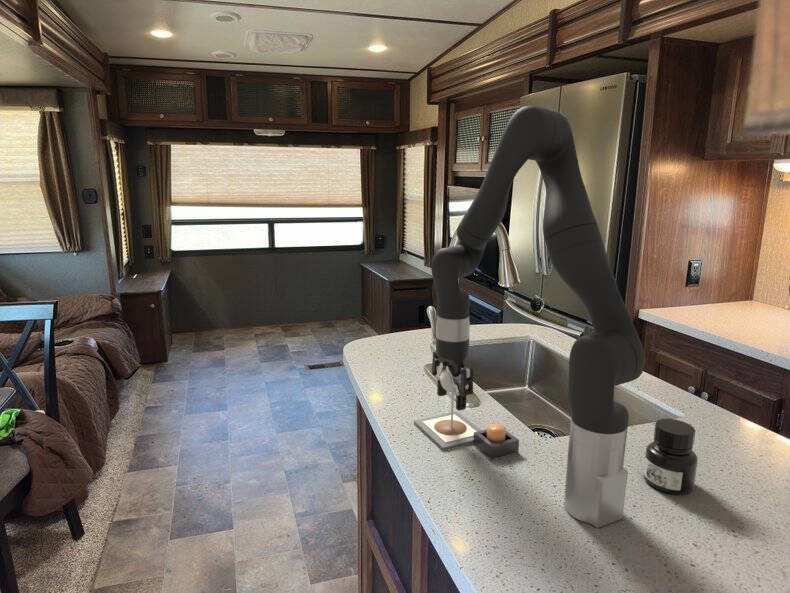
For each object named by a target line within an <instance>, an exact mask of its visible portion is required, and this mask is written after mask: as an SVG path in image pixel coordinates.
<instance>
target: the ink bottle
mask: <svg viewBox="0 0 790 593" xmlns="http://www.w3.org/2000/svg"><path fill="white" fill-rule="evenodd" d="M654 423H655V424H654V430H653V431H654V433H653V442H650V443H648V445H647V446H646V448H645V454H644V455H645V456H644V462H643V470H642V471H643V474H642V476H643V479H644V481H645V482H646V483H647V484H648V485H650V486H651V487H653V488H654V489H656V490H658V491H660V492H663V493H665V494H671V495H684V494H688V493H691V492H692V491H693V490H694V488H695V482H696V476H697V470H698V469H697V468H698V463H699V462H698V461H699V459H698V455H697V453H695V451H694V450H693V448H694V443H695V438H696V437H695V436H696V429H695V427H694V426H692V425H691V424H690V423H687V422H685V421H683V420H680V419H679V420H678V419H674V418H673V419H672V418H661V419H657V421H655V422H654Z"/></svg>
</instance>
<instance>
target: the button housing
mask: <svg viewBox="0 0 790 593" xmlns="http://www.w3.org/2000/svg"><path fill="white" fill-rule="evenodd" d="M481 430H482V429H481ZM472 445H473V446H474V447H476V449H478V450H479V451H480V452H482V453H483V454H484V455H486V457H487V458H489V459H490V460H491V461H493V460H496V459H500V458H504V457H506V456H511V455H514V454H519V448H520V447H519V446H520V439H518V437H516V436H514V435H513V434H512V433H510V432H508V430H506V436H505V441H502V442H498V443H494V444H493V443H492V442H490V441H489V440H488V439H487V428H486V429H483V430H482V431H478V432H474V439H473V444H472Z"/></svg>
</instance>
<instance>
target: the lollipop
mask: <svg viewBox="0 0 790 593" xmlns="http://www.w3.org/2000/svg"><path fill="white" fill-rule="evenodd" d="M454 378H455V380H456V381H459V380H461V377H460V376H457V377H454ZM440 382H441V385H442V387H443V388H444V389H445V390H446V391H447V392H448V393H451V401H450V402H451V403H450V404H451V405H450V408H451V410H450V413H451V428H453V412H454V398H455V397H454V396H455V393H456V390H455V387H454V386H452V382H451V377H450V375H449V374H448V373H447V371H446V369H445V370H444V371H443V372H442V373H441V375H440ZM459 388H460V389H461V384H459Z"/></svg>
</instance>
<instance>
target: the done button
mask: <svg viewBox="0 0 790 593" xmlns="http://www.w3.org/2000/svg"><path fill="white" fill-rule="evenodd" d="M486 429H487V439H488V440H489V441H490V442H492V443H493V444H494V443H498V442H502V441H505V436H506V431H507V427H506V426H505V425H503V424H500V423H490V424H488V425H487V426H486Z"/></svg>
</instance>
